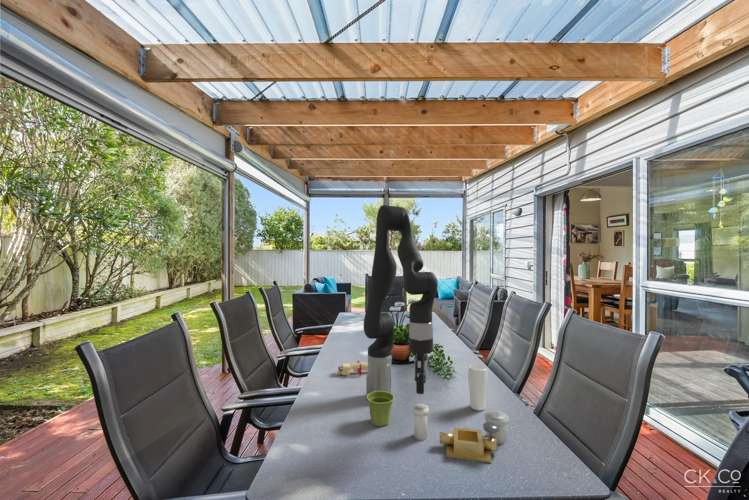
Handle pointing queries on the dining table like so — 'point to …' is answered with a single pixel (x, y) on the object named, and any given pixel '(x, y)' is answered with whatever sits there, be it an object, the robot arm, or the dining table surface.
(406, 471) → the dining table surface
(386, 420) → the plant pot
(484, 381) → the white tall cylinder
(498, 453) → the dining table surface
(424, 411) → the white mushroom shaped knob
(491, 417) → the cylinder
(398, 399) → the dining table surface
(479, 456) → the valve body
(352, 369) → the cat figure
